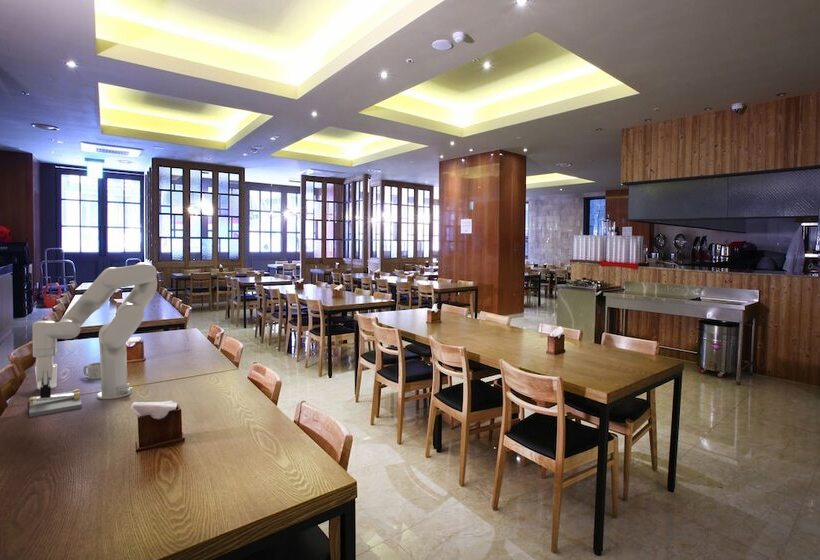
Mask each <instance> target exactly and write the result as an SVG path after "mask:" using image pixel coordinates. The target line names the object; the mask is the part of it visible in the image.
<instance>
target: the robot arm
mask: <svg viewBox="0 0 820 560" xmlns="http://www.w3.org/2000/svg"><path fill="white" fill-rule="evenodd" d="M157 275H158V272H157V268H156V267H155V266H154V265H153V264H152V263H149V262H145V261H144V262H142V261H141V262H138V263H136V264H134V265H133V264H132V265H128V266H121V267H115V266H110V267H107V268H105V269H104V270H103V271H101V273H100V274H99V275H98V276H97V278H96V279H95V280H94V281H93V282H92V283H91V285H89V287H88V288H87V289H86V290H85V291H84V293H83V294H81V296H80V297H79V298H78V300H77V301H76V302H75V303H74V304H73V305H72V306H71V307H70V309H69V310H68V311H67V312H66V313H65V314H64V315H63V317H62V318H61V319H59V321H54V320H38V321H35V322H33V324H32V357H33V358H35V367H36V374H35V381H36V383H37V382H38V381H41V387H40V389H39V391H40V394H39V396H40V398H44V397H50V396H51V392H52V391H51V389H52V388H51V386H50V381H51V380H52V375H53V364H54V356H57V355H58V339H62V340H69V339H71V340H72V339H74V338H76V337H78V336H79V335H80V332H81V327H82V326H83V325H84V324H85V322H86V321H87V320H88V319H89V318H90V317H91V315H92V314H93V313H95V312H96V311H98V310H99V309H102V307H103V306H105V304H106V303H107V302H108V300H110V298H111V297H112V296H113V294H114V293H115V292H117V290H118V289H120V288H126V287H127V288H128V287H132V286H133V288H132V289H131V291H130V292H129V294H128V295H127V296H126V297H125V299H124V300H123V301H122V303H121V304H120V305H119V306H118V307H117V309H116V315H115V316H114V318H113V319H112V320H111V321H110V322H108V323H105V324H104V325H102V327H100V329H99V332H98V344H99V360H100V362H99V363H100V367H101V379H100V388H101V391H99V392H98V393H97V394H96V395H97V396H96V397H97V399H100V400H112V399H113V400H114V399H120V398H123V397H127V396H129V395H131V394H132V393H133V391H134V389H135V388H134V387H132V386H130V383H128V365H127V364H128V363H127V360H128V359H127V357H128V356H127V355H128V354H127V353H128V352H127V342H128V341H129V340H130V338H131V337H132V336H133V334H134V333H135V332H136V331H137V329H138V328H139V326H140V325H141V323H142V322H143V320H144V318H145V309H146V308H147V306H148V305H149V303H151V301H152V299H153V298H154V296H155V294H156V292H157V289H158V280H157V279H158V278H157Z"/></svg>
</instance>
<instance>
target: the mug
mask: <svg viewBox="0 0 820 560" xmlns="http://www.w3.org/2000/svg"><path fill="white" fill-rule="evenodd" d="M83 375H84V376H87V377H88V380H101V367H100V362H93V363H89V364H88V365H85V366H83Z"/></svg>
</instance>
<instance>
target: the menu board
mask: <svg viewBox="0 0 820 560" xmlns="http://www.w3.org/2000/svg"><path fill="white" fill-rule="evenodd" d="M70 393H74V397H73V398H64V399H54V400H44V401H36V397H39V396H40V395H39V396H29V409H28V410H29V411H28V414H29V418H32V416H33V417H37V416H44V415H49V414H54V413H61V412H66V411H72V410H77V409H82V407H83V403H82V400H81V392H80V389H79V388H78V389H73V390H69V391H64V392H57V393H52V394H51V395H60V394H70Z"/></svg>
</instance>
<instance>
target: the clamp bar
mask: <svg viewBox="0 0 820 560" xmlns="http://www.w3.org/2000/svg"><path fill="white" fill-rule="evenodd" d="M35 397H36V401H44V400H54V399H64V398H73V397H74V393H70V394H60V395H51V396H50V397H44V398H40V395H39V397H37V396H35Z"/></svg>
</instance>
